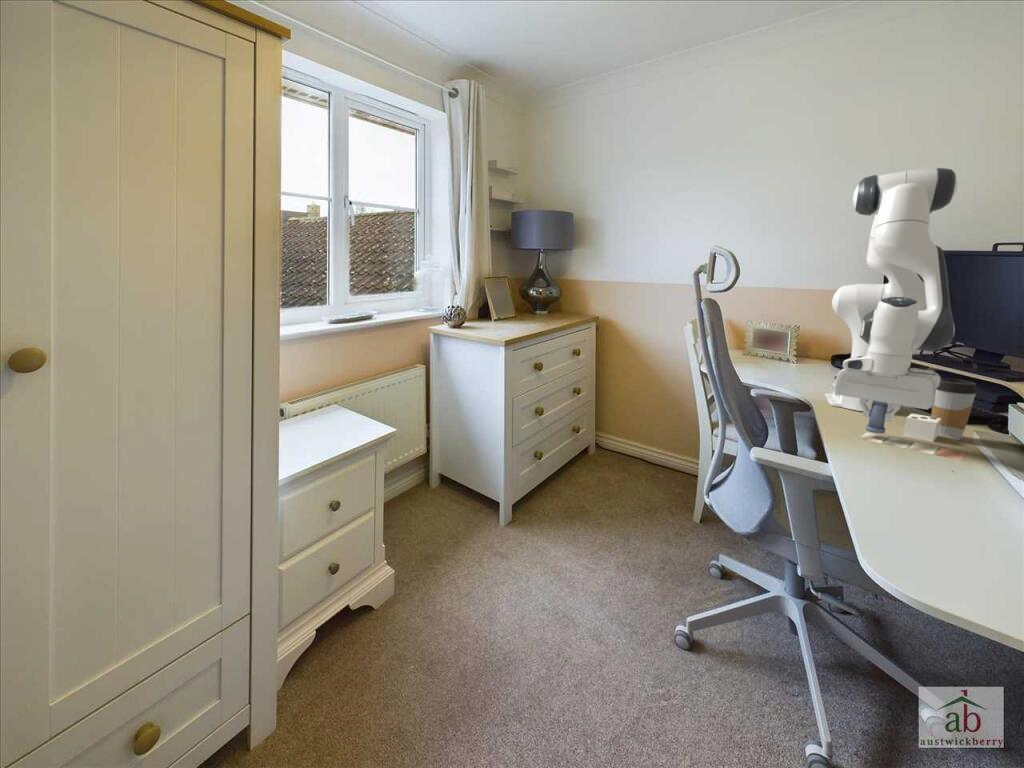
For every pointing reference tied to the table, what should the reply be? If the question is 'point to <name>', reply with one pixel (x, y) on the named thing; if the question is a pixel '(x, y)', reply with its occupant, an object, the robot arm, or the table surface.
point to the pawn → (877, 417)
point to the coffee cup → (953, 406)
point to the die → (922, 427)
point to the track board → (914, 446)
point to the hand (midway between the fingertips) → (877, 418)
